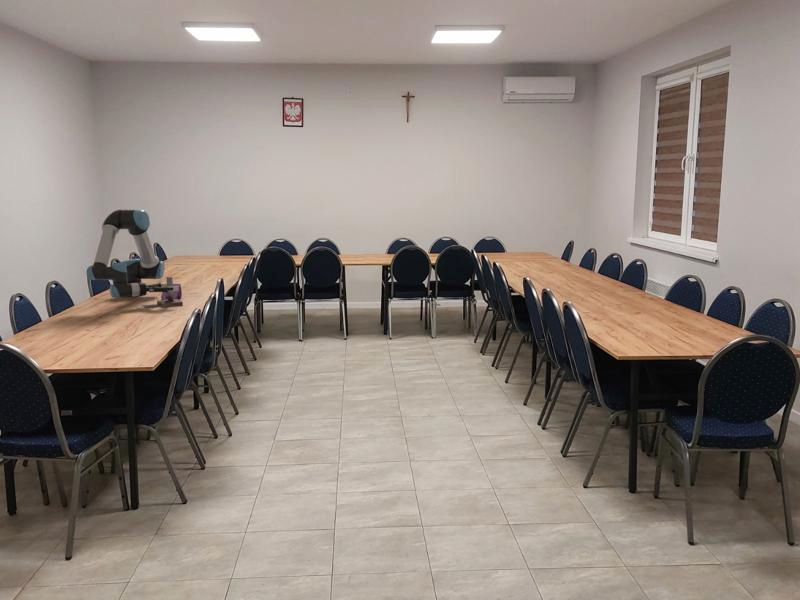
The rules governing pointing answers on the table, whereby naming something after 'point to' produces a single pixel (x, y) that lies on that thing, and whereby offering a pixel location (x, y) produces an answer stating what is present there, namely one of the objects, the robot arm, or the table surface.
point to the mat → (150, 306)
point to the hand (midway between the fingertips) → (175, 286)
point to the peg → (170, 293)
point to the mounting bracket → (175, 293)
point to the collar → (169, 303)
